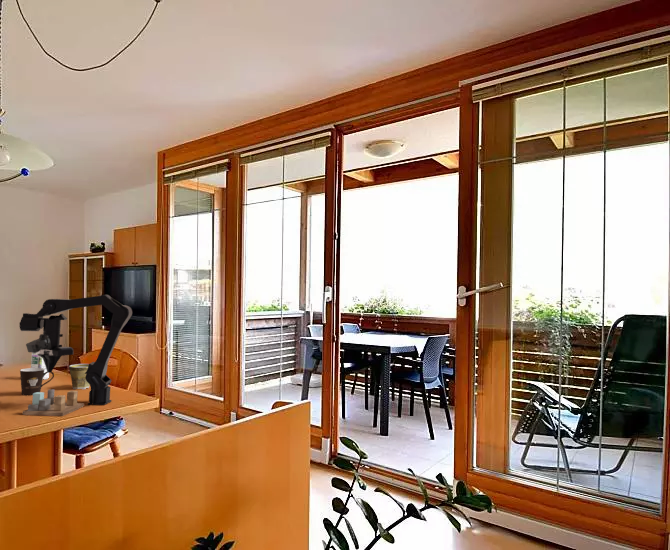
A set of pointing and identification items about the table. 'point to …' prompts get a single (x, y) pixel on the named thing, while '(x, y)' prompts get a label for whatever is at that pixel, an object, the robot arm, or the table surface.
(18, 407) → the table surface
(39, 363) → the syrup box
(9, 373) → the table surface
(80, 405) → the block puzzle board
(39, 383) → the coffee mug
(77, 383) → the ceramic cup
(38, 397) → the teal l-shaped block
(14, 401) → the table surface
